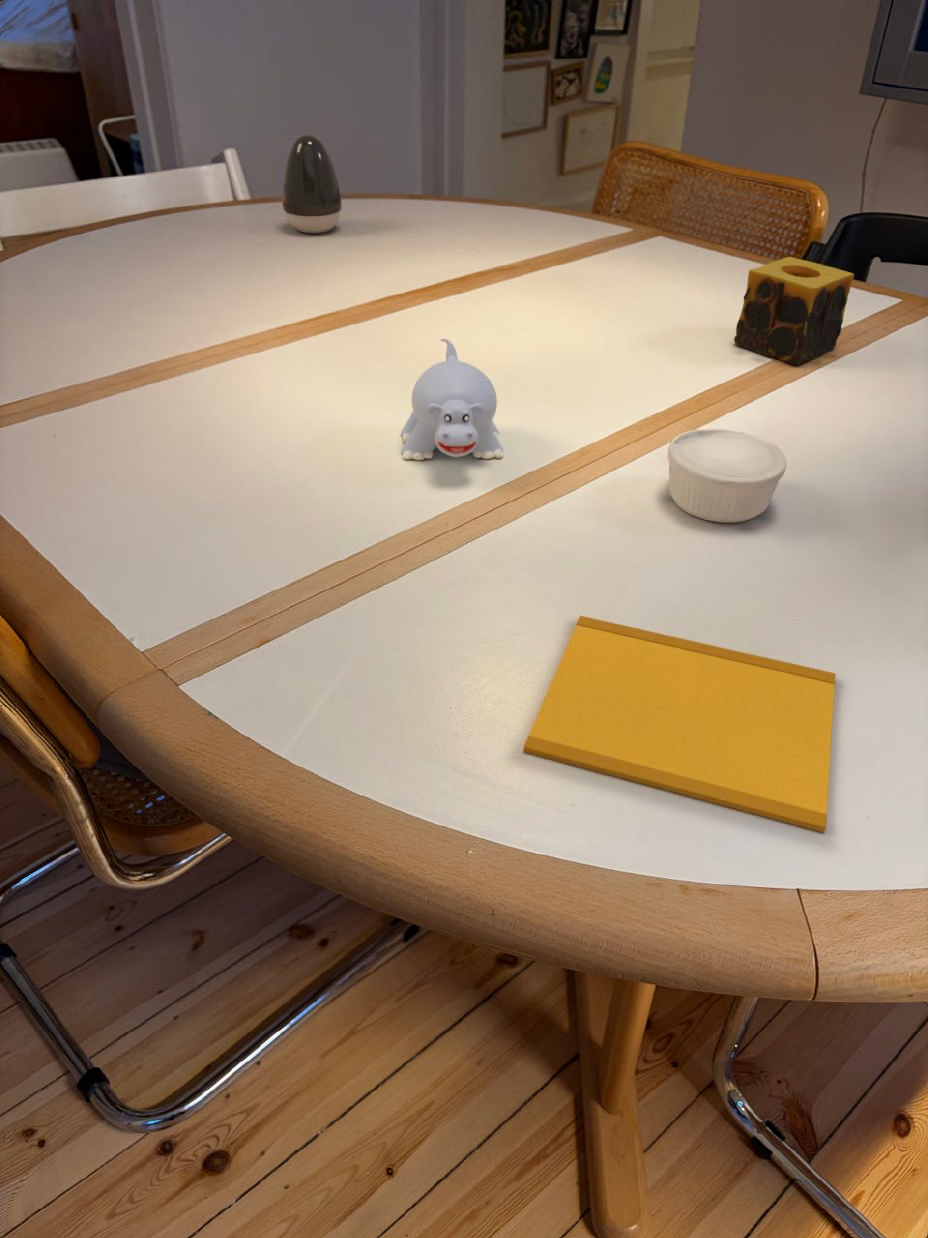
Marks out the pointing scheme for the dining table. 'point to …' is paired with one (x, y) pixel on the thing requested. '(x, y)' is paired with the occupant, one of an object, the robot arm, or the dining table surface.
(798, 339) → the candle
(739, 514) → the ramekin
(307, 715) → the dining table surface
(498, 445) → the hippopotamus toy
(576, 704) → the tray
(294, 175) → the black egg shape
